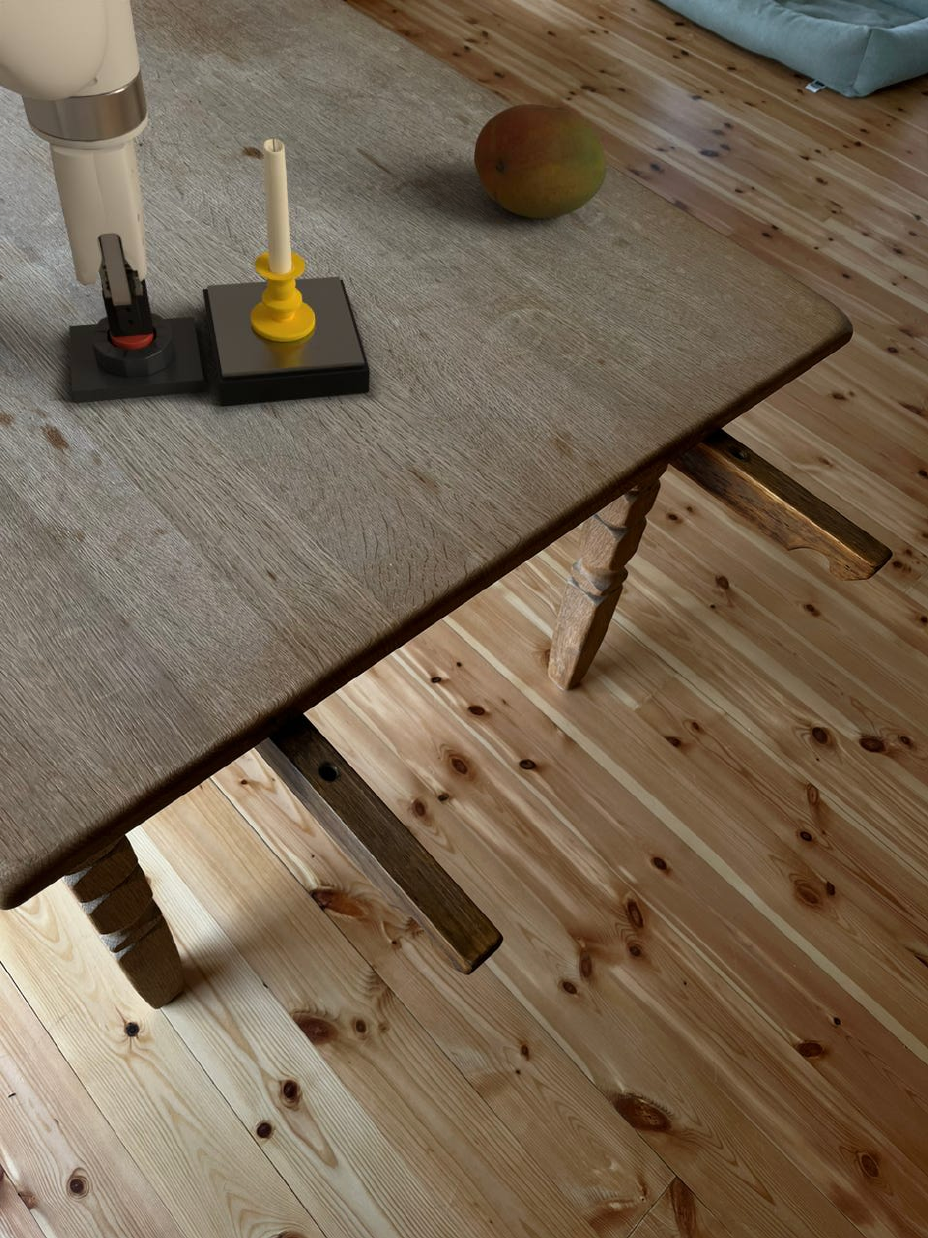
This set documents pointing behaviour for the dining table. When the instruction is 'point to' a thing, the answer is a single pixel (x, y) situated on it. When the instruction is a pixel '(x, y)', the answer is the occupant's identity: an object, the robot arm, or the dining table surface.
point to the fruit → (539, 161)
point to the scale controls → (135, 362)
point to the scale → (284, 346)
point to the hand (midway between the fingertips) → (132, 328)
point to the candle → (279, 260)
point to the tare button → (132, 341)
